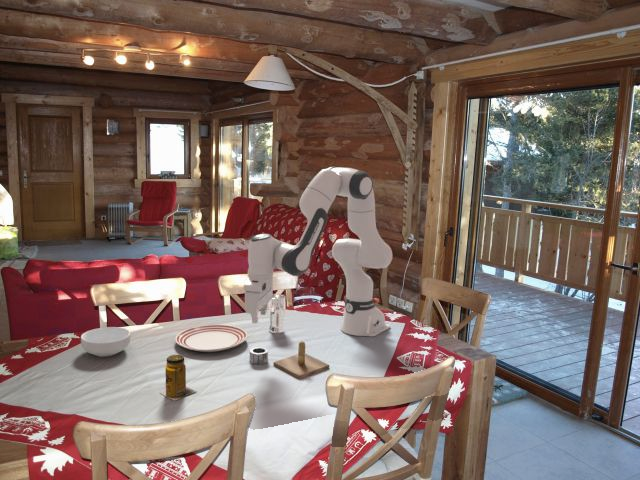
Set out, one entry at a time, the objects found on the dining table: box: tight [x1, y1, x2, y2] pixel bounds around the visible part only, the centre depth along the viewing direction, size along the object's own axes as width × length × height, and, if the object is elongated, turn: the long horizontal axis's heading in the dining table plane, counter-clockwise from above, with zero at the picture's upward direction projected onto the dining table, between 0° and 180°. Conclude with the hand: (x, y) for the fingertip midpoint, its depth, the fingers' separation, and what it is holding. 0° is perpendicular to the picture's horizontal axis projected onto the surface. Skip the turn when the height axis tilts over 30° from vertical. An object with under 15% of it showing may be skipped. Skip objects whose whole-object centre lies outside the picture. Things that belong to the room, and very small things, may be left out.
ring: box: [249, 346, 269, 366], centre depth 194 cm, size 6×6×4 cm
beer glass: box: [268, 293, 286, 334], centre depth 224 cm, size 7×7×15 cm
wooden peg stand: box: [272, 341, 330, 380], centre depth 190 cm, size 14×14×9 cm
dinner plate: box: [174, 324, 248, 353], centre depth 209 cm, size 28×27×3 cm
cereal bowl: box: [80, 326, 131, 358], centre depth 196 cm, size 17×17×7 cm
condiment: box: [160, 354, 197, 402], centre depth 168 cm, size 7×8×12 cm
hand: (259, 318), depth 191 cm, fingers open, 8 cm apart
